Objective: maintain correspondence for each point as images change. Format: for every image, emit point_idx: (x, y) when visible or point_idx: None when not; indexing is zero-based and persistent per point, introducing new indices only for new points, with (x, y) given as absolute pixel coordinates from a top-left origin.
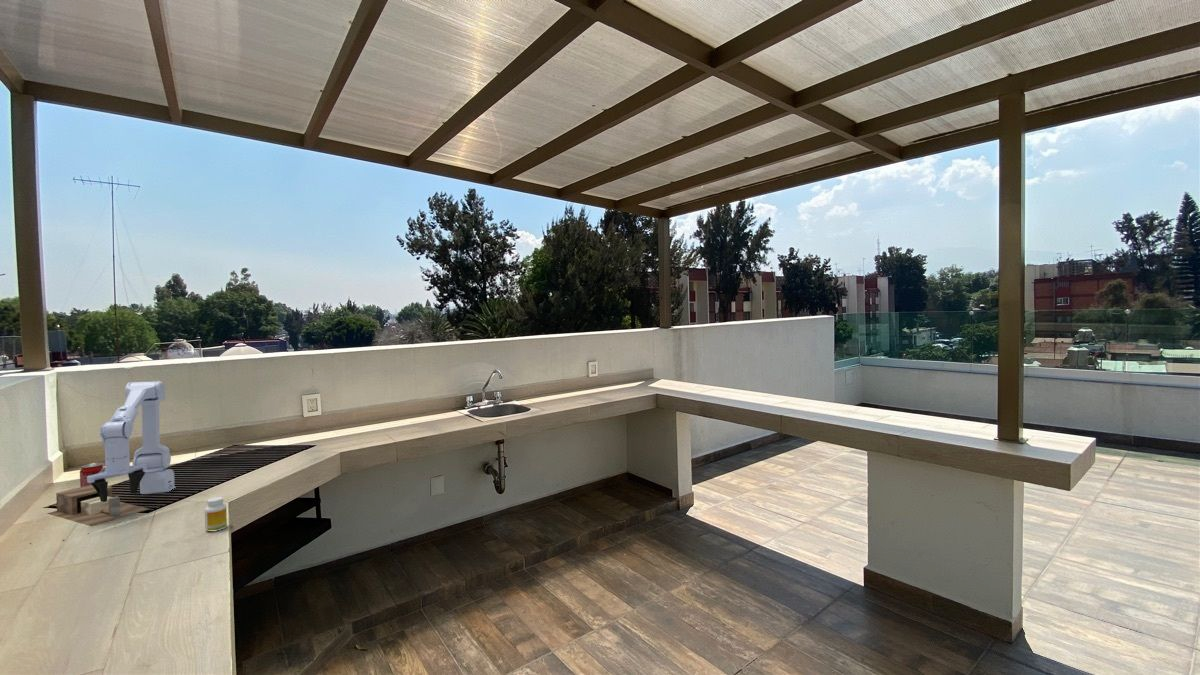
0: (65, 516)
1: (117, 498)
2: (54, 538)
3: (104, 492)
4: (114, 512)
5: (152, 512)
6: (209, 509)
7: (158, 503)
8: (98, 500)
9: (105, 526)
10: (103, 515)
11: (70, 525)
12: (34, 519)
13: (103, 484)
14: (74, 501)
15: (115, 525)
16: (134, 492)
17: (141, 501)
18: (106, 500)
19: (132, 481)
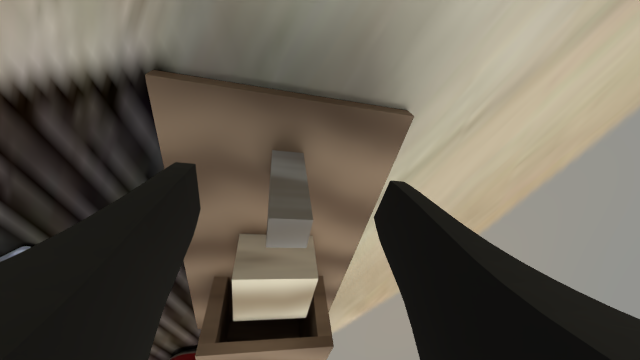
0: (333, 280)
1: (281, 213)
2: (482, 151)
3: (467, 234)
4: (295, 163)
5: (147, 40)
6: None
7: (73, 163)
8: (279, 290)
9: (373, 86)
10: None
11: (370, 221)
12: (342, 313)
13: (632, 339)
14: (323, 323)
15: (358, 44)
16: (187, 168)
17: None
18: (398, 183)
19: (137, 308)
